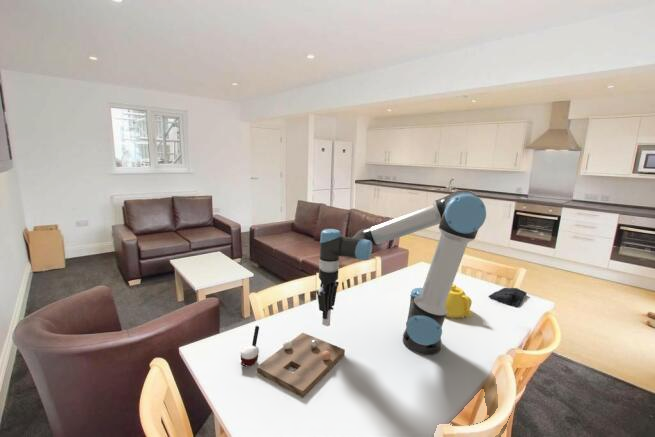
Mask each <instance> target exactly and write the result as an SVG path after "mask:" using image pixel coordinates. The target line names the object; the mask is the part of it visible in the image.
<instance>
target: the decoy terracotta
mask: <svg viewBox="0 0 655 437" xmlns="http://www.w3.org/2000/svg"><path fill="white" fill-rule="evenodd" d="M330 357H331V354H330V352H329V351H324V352H323V353H322V358H323V359H324V360H329V359H330Z"/></svg>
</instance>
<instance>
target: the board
mask: <svg viewBox="0 0 655 437" xmlns="http://www.w3.org/2000/svg"><path fill="white" fill-rule="evenodd" d="M312 340H316V341H317V342H318V347H317V348H316V349H312V348H311V347H310V342H311V341H312ZM290 341H291V343H292V346H291V348H290V349H285V348H284V346H282V348H280V349H279V350H277V351H276V352H275V353H273V354H271V355H270V356H269V357H268V358H266V359H265V360H264V361H262V362H261V363H259V364H258V365H257V366H256V374H257V375H259V376H261V377H263V378H265V379H267V380H268V381H271V382H272V383H274V384H276V385H278V386H280V387H282V388H284V389H286V391H289V392H291V393H293V394H294V395H296V396H298V397H300V398H302V399H304V398H305V397H306V396H307V395H308V393H310V391H312V389H314V387H315V386H316V385H317V384H318V383H319V382H320V381H322V379H324V377H326V375H327V374H328V373H329V372H330V371H331V370H332V369H333V368H334V367H335V366H336V365H337V364H338V363H339V362H340V361H341V360H342V359H343V357H344V356H345V353H346V352H345V350H346V349H345V348H342V347H339V346H337V345H334V344H332V343H330V342H327V341H324V340H323V339H319V338H317V337H315V336H312V335H310V334H307V333H305V332H301V333H300V334H299V335H297V336H296V337H295V338H293V339H292V340H290ZM324 351H329V352H330V354H331V357H330V359H329V360H324V359H323V358H322V353H323V352H324ZM291 368H292V369H294V370H295V371H291V370H290V369H291Z"/></svg>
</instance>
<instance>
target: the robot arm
mask: <svg viewBox="0 0 655 437" xmlns="http://www.w3.org/2000/svg"><path fill="white" fill-rule="evenodd" d="M486 218H487V209H486V205H485V203H484V202H483V200H482V199H481V198H480V197H479V196H477V195H476V194H475V193H473V192H472V191H469V190H461V189H460V190H457V191H455V192H452V193H450V194H448V195H445V196H443V197H441V198H439V199H436V200H434V201H433V203H432V204H431V205H427V206H425V207H422V208H420V209H418V210H414V211H411V212H409V213H405V214H404V215H403V214H402V215H401V216H398V217H395V218H393V219H390V220H387V221H385V222H381V223H378V224H376V225H373V226H371V227H367V228H362V229H360V230H358V231H357V232H355V235H354V236H352V237H349V236H348V237H347V236H342V235H341V231H340V230H338V229H336V228H335V229H334V228H325V229H323V230H322V231H321V233H320V240H319V263H318V264H319V267H318V268H319V269H318V278H319V281H320V285H319V287H320V288H319V289H317V290H316V291H315V293H316V295H317V300H318V301H317V302H318V309H319V311H320V312H322V320H321V321H322V322H321V324H322V325H323V326H325V327H329V326H331V313H332V312H331V311H333V310H334V306H335V302H336V297H337V292H338V287H339V284H340V283H339V281H337V280H338V279H339V268H340V257H342V258H347V259H355V260H359V261H362V260H363V261H368V260H370V258H371V256H372V252H373V247H376V246H377V245H381V244H383V243H387V242H390V241H392V240H393V241H394V240H395V239H399V238H401V237H404V236H408V235H410V234H414V233H416V232H420V231H422V230H425V229H427V228H428V229H429V228H431V227H433V226H436V225H439V226H438V229H439V231H440V237H439V240H438V242H437V246H436V248H435V251H434V255H433V257H432V259H431V260H432V261H431V264H430V267H429V269H428V272H427V274H426V278H425V281H424V284H423V286H422V287H415V288H413V289H411V291H410V300H409V301H410V303H409V307H408V313H407V319H406V322H405V323H406V326H405V330H404V332H403V334H402V342H403V345H404V346H405V348H407V349H409V350H410V351H412V352H414V353H416V354H417V353H418V354H421V355H435V354H437V353H439V352H440V351H441V350H442V344H443V342H442V341H443V340H442V335H443V324H444V322H445V320H446V318H447V317H446V314H447V308H446V307H445V303H446V300H447V298H448V295H449V292H450V290H451V287H452V284H454V281H455V280H456V279H455V278H456V276H457V274H458V271H459V267H460V265H461V262H462V260H463V257H464V254H465V251H466V250H467V246H468V244H469V243H470V242H473V241H474V240H475V239H476V237H477V234H478V232H479V229H481V227H482V226H483V225H484V223H485V221H486Z"/></svg>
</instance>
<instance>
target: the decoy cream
mask: <svg viewBox="0 0 655 437" xmlns="http://www.w3.org/2000/svg"><path fill="white" fill-rule="evenodd" d="M291 341H292V340H289V339H287V340H284V341H283V344H282V345H283V346H282V347H284V348H285V349H290V348H291V346H292V343H291Z"/></svg>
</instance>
